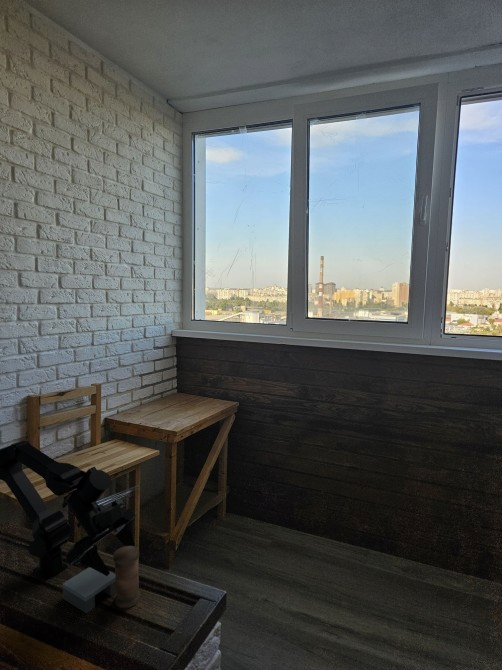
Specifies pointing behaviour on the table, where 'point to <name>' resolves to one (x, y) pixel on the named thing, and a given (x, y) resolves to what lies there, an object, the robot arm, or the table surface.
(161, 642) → the table surface
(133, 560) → the brown flanged cylinder
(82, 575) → the grey bridge block
